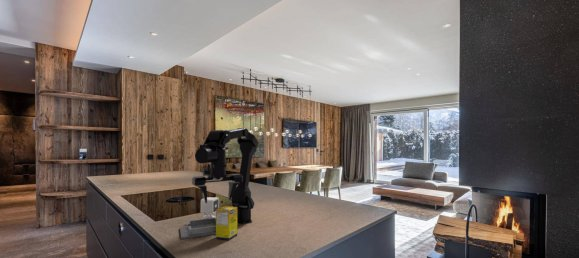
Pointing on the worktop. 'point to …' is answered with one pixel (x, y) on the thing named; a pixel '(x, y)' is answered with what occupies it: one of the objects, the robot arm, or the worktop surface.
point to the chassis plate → (198, 228)
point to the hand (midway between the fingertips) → (217, 201)
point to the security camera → (209, 207)
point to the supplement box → (226, 223)
